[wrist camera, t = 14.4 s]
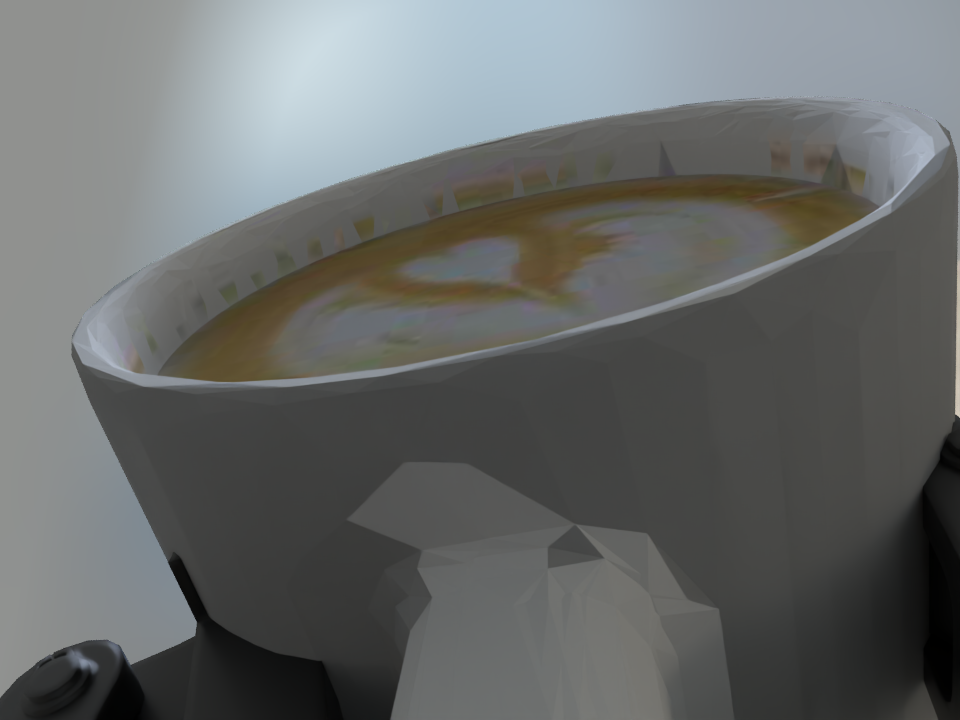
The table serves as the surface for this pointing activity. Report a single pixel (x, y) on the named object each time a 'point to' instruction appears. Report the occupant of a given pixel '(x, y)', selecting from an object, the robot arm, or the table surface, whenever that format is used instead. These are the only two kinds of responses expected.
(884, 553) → the coffee mug
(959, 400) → the table surface
